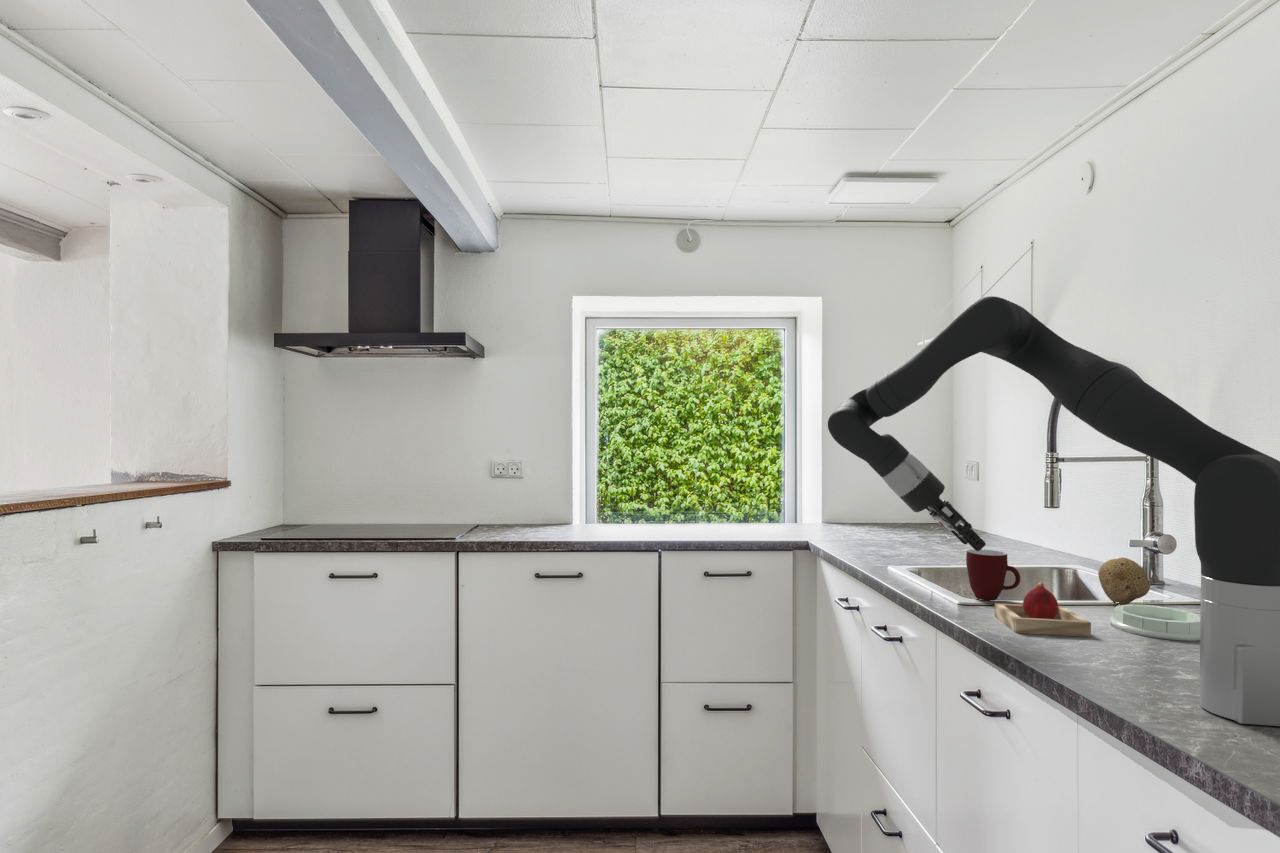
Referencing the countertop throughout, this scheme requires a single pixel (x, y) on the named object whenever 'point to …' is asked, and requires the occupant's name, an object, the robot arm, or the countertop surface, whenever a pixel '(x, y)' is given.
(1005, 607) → the holder
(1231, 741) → the countertop surface
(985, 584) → the mug
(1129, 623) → the dish
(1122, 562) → the natural sponge
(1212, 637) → the robot arm
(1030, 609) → the onion
